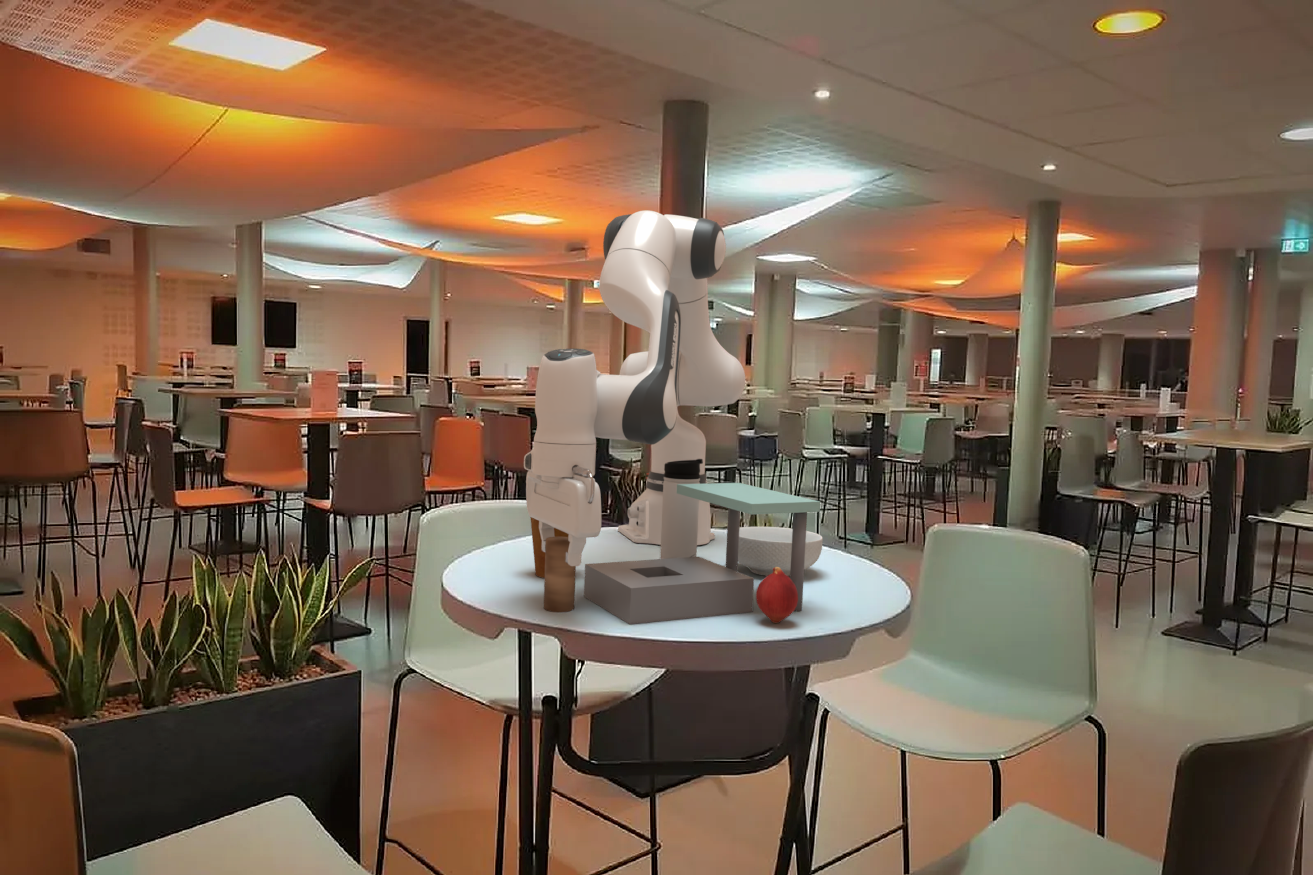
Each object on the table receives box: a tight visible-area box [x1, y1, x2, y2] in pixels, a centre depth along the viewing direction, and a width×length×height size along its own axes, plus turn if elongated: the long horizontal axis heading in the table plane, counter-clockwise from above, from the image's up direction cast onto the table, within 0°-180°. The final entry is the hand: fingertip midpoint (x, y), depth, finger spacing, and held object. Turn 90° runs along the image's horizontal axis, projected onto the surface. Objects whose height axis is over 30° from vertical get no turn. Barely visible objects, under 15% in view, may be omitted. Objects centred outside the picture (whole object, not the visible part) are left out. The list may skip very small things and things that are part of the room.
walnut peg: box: [543, 537, 577, 613], centre depth 129 cm, size 4×4×10 cm
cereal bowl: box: [738, 526, 824, 577], centre depth 160 cm, size 17×17×7 cm
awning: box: [677, 482, 821, 612], centre depth 140 cm, size 22×12×16 cm, turn 27°
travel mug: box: [659, 459, 703, 559], centre depth 155 cm, size 6×7×20 cm
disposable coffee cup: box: [529, 516, 569, 579], centre depth 150 cm, size 10×10×12 cm
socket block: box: [583, 556, 755, 625], centre depth 134 cm, size 16×20×5 cm
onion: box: [755, 567, 798, 624], centre depth 126 cm, size 6×6×8 cm
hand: (560, 558), depth 129 cm, fingers open, 8 cm apart
